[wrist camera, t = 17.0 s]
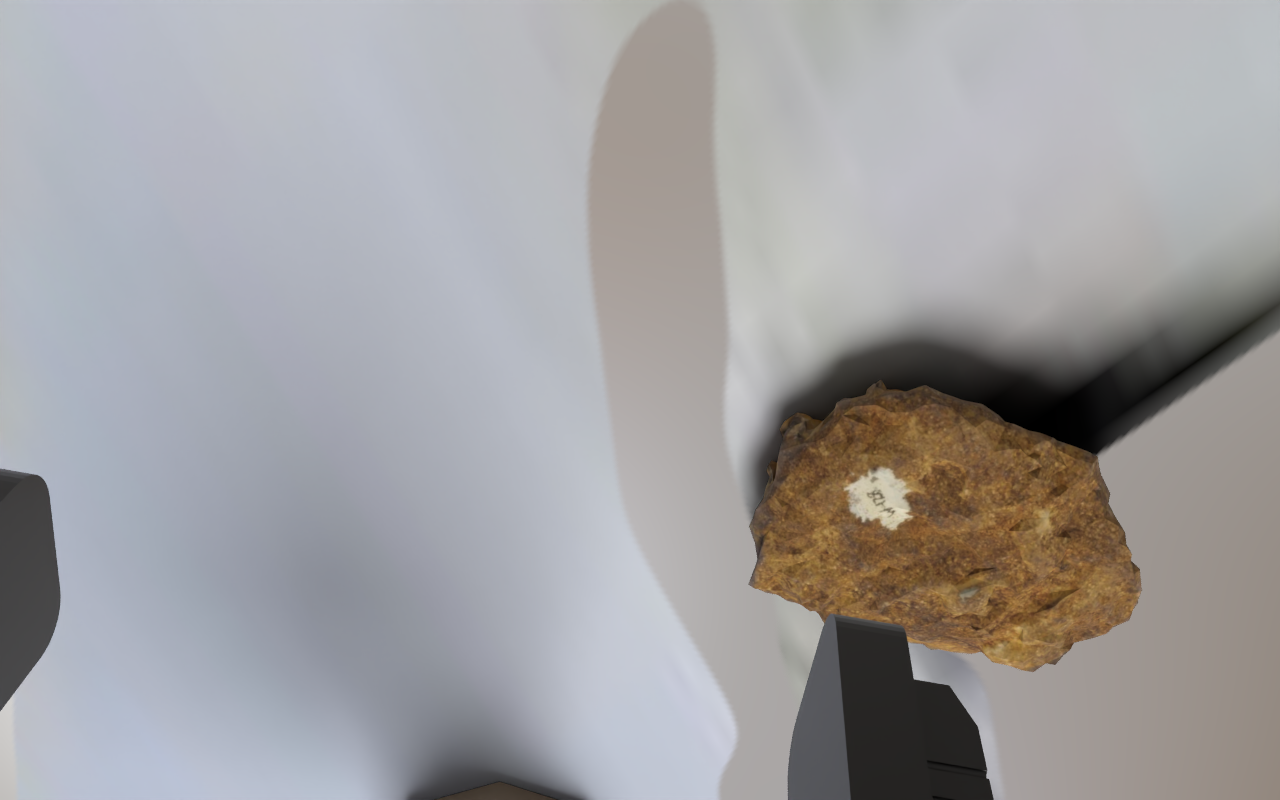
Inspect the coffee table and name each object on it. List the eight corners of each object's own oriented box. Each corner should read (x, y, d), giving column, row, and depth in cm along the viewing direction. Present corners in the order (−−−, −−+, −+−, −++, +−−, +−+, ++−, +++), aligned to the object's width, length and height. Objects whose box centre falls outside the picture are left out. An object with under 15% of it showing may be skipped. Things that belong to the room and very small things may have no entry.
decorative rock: (1199, 439, 46) (813, 322, 45) (1236, 495, 42) (817, 368, 41) (1068, 672, 51) (720, 569, 50) (1091, 740, 47) (715, 630, 46)
